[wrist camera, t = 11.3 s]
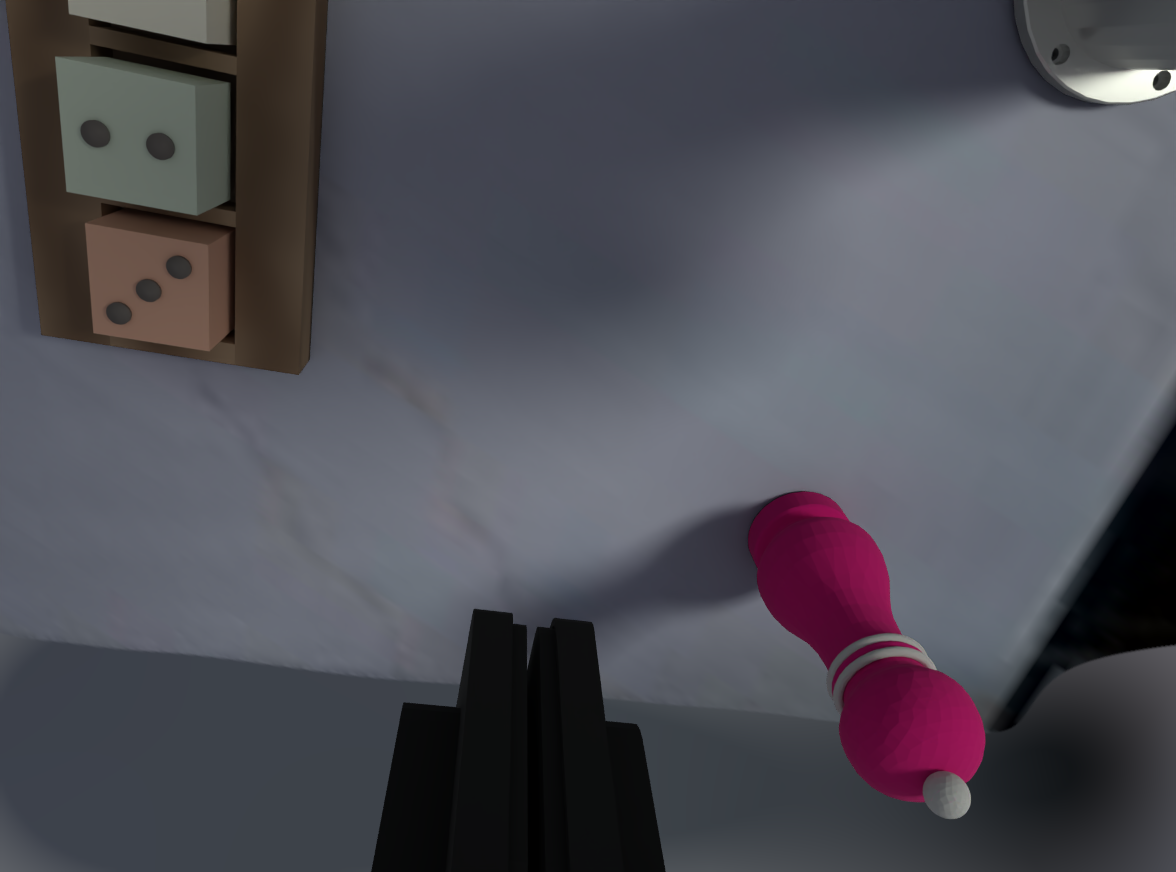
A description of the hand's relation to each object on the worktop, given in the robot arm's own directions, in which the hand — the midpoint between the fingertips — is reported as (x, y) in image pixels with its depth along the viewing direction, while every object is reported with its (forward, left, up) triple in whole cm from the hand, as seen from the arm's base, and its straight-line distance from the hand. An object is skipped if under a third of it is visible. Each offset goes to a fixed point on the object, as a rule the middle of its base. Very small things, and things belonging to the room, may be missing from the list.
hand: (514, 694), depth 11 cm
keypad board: (+16, -2, -31) cm, 35 cm away
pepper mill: (-20, +15, -31) cm, 40 cm away
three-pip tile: (+16, +4, -31) cm, 35 cm away
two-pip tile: (+16, -2, -29) cm, 34 cm away
